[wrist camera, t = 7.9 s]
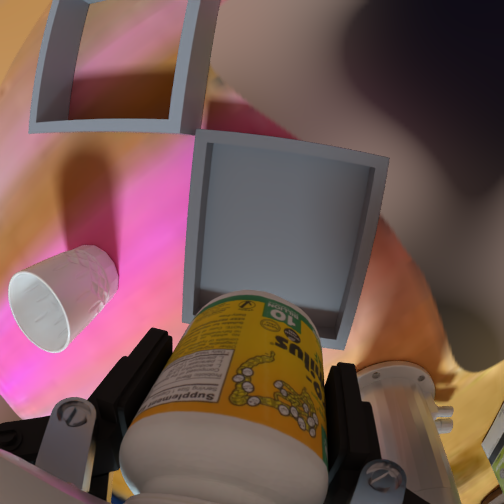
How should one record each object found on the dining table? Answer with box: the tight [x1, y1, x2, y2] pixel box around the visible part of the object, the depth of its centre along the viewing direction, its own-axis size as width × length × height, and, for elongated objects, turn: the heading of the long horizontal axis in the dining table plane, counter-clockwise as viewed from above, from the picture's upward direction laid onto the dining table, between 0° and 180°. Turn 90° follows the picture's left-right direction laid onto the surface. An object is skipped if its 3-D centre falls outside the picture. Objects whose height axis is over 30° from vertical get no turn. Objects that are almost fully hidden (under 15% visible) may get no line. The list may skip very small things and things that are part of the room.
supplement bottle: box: [119, 290, 329, 504], centre depth 8 cm, size 5×5×10 cm
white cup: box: [8, 245, 119, 353], centre depth 28 cm, size 8×8×10 cm
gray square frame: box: [28, 0, 220, 136], centre depth 23 cm, size 16×16×5 cm
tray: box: [182, 129, 390, 350], centre depth 27 cm, size 15×17×3 cm
